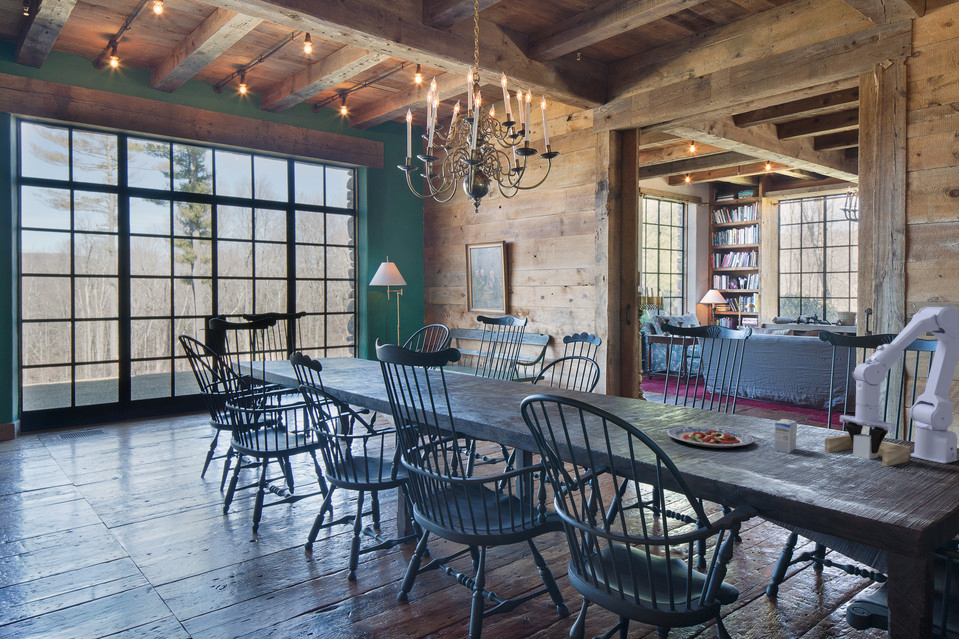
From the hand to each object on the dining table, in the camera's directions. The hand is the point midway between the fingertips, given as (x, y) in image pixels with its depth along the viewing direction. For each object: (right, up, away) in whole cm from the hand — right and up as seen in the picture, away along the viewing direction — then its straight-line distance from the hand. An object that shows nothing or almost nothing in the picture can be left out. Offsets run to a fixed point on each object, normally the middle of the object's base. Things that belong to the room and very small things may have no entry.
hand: (865, 450), depth 178 cm
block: (0, -2, 0) cm, 2 cm away
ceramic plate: (-39, -1, +16) cm, 43 cm away
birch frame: (0, -2, 0) cm, 2 cm away
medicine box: (-20, -1, +7) cm, 21 cm away
